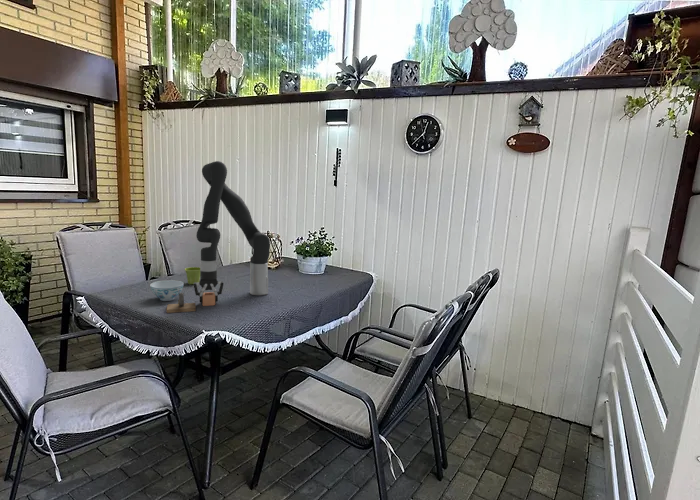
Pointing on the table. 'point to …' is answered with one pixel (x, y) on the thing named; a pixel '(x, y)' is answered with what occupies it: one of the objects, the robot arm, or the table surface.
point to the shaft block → (181, 306)
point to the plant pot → (193, 274)
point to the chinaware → (166, 289)
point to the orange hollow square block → (208, 298)
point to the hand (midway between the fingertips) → (208, 302)
